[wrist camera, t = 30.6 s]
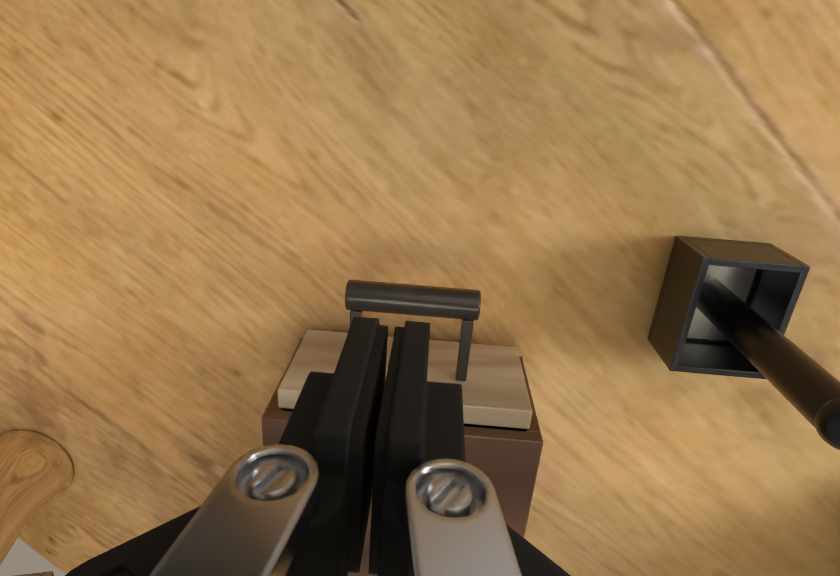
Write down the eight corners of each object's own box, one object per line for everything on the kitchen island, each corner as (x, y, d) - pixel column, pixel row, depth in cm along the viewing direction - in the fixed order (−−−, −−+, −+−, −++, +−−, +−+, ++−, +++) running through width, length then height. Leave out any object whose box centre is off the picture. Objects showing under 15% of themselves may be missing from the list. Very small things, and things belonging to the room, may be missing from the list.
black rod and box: (675, 235, 32) (828, 355, 19) (771, 243, 32) (987, 369, 19) (647, 339, 35) (763, 504, 22) (734, 346, 35) (902, 516, 22)
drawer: (306, 248, 32) (273, 295, 26) (530, 267, 32) (550, 318, 26) (309, 521, 41) (285, 604, 35) (485, 536, 41) (493, 623, 35)
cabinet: (301, 337, 36) (261, 417, 28) (521, 356, 36) (543, 442, 28) (305, 532, 43) (273, 640, 35) (489, 549, 43) (499, 661, 35)
